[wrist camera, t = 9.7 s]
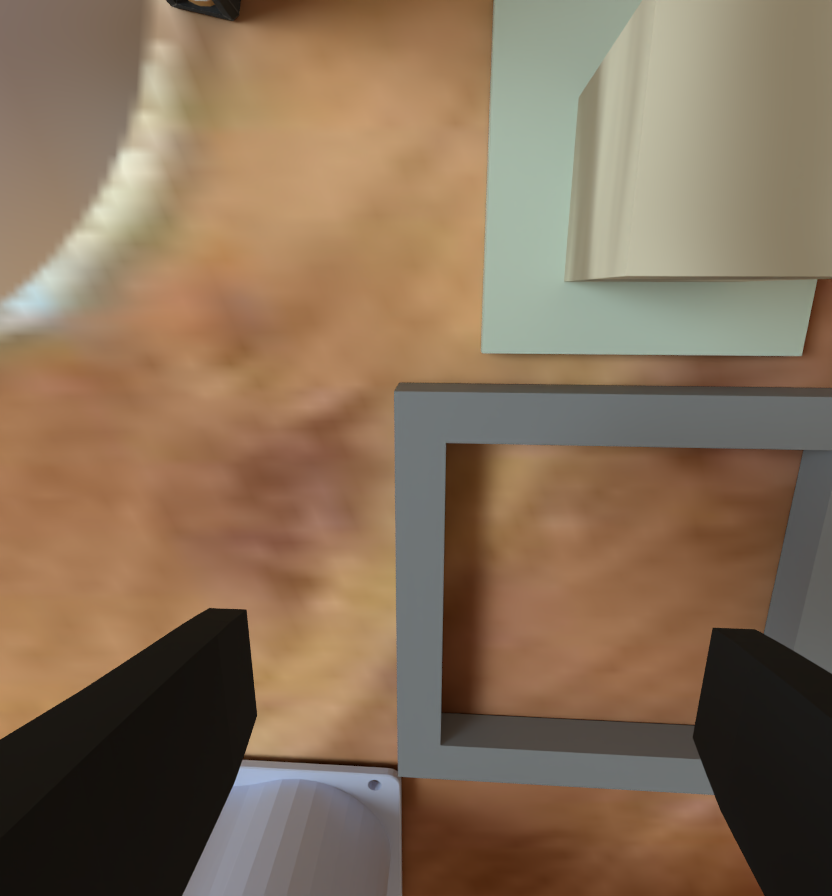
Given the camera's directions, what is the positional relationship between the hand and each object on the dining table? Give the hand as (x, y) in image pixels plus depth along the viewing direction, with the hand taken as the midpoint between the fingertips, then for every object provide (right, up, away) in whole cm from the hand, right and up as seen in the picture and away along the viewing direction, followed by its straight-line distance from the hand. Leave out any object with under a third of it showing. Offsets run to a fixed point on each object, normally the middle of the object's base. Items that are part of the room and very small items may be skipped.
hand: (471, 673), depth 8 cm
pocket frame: (+6, -1, +10) cm, 11 cm away
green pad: (+6, +11, +6) cm, 14 cm away
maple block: (+5, +10, +6) cm, 13 cm away
